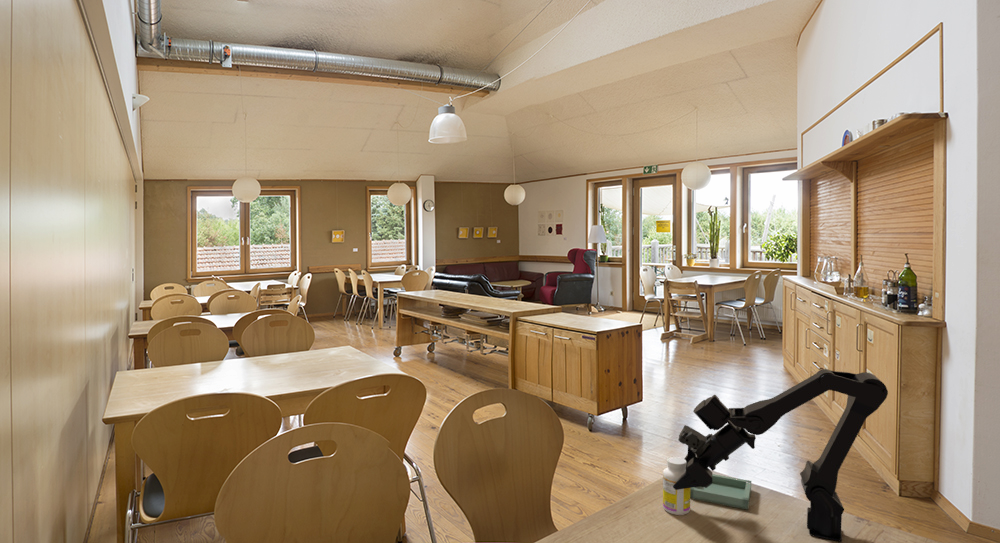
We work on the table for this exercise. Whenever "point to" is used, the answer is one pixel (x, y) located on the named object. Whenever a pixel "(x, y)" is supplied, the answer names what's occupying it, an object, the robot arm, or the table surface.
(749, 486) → the tub
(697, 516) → the table surface
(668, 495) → the supplement bottle
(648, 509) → the table surface
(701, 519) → the table surface
